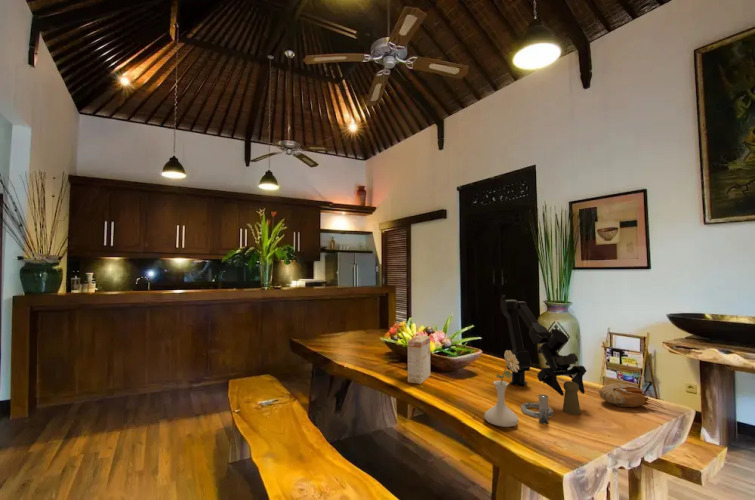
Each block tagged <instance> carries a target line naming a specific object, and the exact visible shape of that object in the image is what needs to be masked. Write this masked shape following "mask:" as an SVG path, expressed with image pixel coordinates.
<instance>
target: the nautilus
mask: <svg viewBox="0 0 755 500" xmlns="http://www.w3.org/2000/svg"><path fill="white" fill-rule="evenodd" d="M598 394H599V397H600V398H601V399H602V400H604V401H606V402H608V403H611V404H613V405H615V406H617V407H619V408H629V407H630V408H634V407H643V408H646V409H648V410H650V411H653V412H656V413H657V410H658V408H661V409H663V410H665V408H664V405H663V404H661V403H659V402H657V401H655V400H657V399H659V400H662V401H663V399H662V398H659V397H657V396H658V394H654V393H649V391H648V389H647V390H646V389H645V390H644V389H642V388H641V387H637V386H635V385H631V384H627V383H609V384H605V385H603V386H602V387H601V388H600V389H598ZM656 395H657V396H656ZM649 397H651V398H653V399H650V398H649ZM656 398H657V399H656ZM650 405H652V406H656V407H652V406H650ZM657 407H658V408H657ZM653 409H654V410H653Z"/></svg>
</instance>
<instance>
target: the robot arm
mask: <svg viewBox="0 0 755 500" xmlns="http://www.w3.org/2000/svg"><path fill="white" fill-rule="evenodd" d="M499 307H500V309H501V314H503V315H504V317H505V318H506V320H507V326H508V331H509V337H510V341H511V347H512V349H511V352H512V354H513V355H515V356H516V357H515V358H516V359H517V361H518V362H519V364H518V365H519V370H518V369H517V371H518V372H515V371H514V372H513V371H511V370H510V368H509V367H508V366H507V367H506V370H508V371H510V372H511V373H512V376H511V380H510V381H509V384H510V385H515V386H518V387H519V386H520V387H525V386H526V385H527V384H528V381H526V372H530V369H531V365H532V359H531V354H530V351H527V350H526V349H525V347H524V342H523V337H522V332H521V328H520V327H521V325H520V322H519V316H520V318H521V319H522V321H523V322H524V324H525V325H526V327H527V328H528V335H529V338H530V339H531V342H532V343H533V344H534V345H541V346H538V350H537V354H542V356H543V358H544V360H545V361H546V362H545V366H548V367H542V369H540V370H539V372H538V373H537V377H536V378H537V379H538V381H539V382H542V383H543V384H546V386H548V387H550V388H551V389H553V390H554V391H555V392H557V393H558V394H559V395H560V396H562V397H564V396H565V392H564V390H563V389H562V387H561V385H560V383H559V381H558V378H557V377H559V376H560V377H562V376H569V378H571V379H570V380H571V382H575V383H577V384H578V386H579V392H580V393H581V394H583V395H584V394H585V393H586V392H585V391H586V390H585V386H584V381H583V376H584V375H585V373H586V372H587V369H586V367H585V366H583V365H576V362H578V361H579V359H578V356H577V355H576V353H573V352H572V353H568V355H562V354H561V355H560V354H559V351H560V350H562V349H563V348H564V347H565V345H566V344H567V343H568V342H569V337H568V336H567V334H565V333H564V332H562V331H561V330H559V329H558V328H553V329H552V330H551V332H550V331H549V329H547V328H546V327H545V326H543V325H542V324H540V322H539V321H538V320H537V318H536V317H535V315H534V314H533V312H532V311H531V310H530V308H529V306H528V303H527V302H526V301H518V300H517V299H503V300H501V302H500V305H499ZM571 365H574V366H572V368H571Z"/></svg>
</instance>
